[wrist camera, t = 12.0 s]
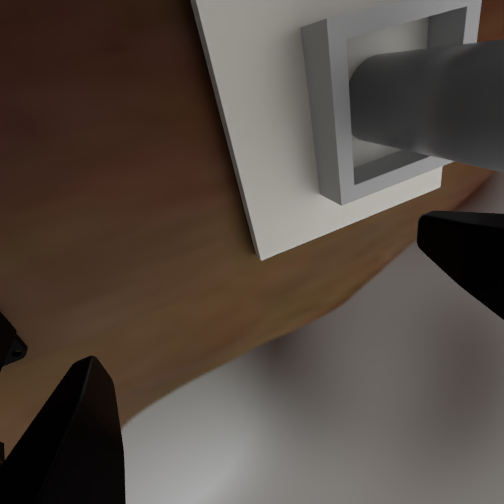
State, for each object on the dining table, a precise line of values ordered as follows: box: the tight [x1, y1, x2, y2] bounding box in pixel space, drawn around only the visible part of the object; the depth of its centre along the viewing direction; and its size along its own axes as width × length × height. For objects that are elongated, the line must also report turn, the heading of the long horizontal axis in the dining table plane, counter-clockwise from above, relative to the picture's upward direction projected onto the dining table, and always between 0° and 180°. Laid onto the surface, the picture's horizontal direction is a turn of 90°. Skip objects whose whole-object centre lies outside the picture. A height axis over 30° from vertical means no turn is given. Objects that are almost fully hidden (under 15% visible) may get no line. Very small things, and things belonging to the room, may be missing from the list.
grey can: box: [349, 39, 504, 172], centre depth 15 cm, size 5×5×13 cm
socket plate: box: [190, 0, 482, 261], centre depth 19 cm, size 16×16×4 cm
